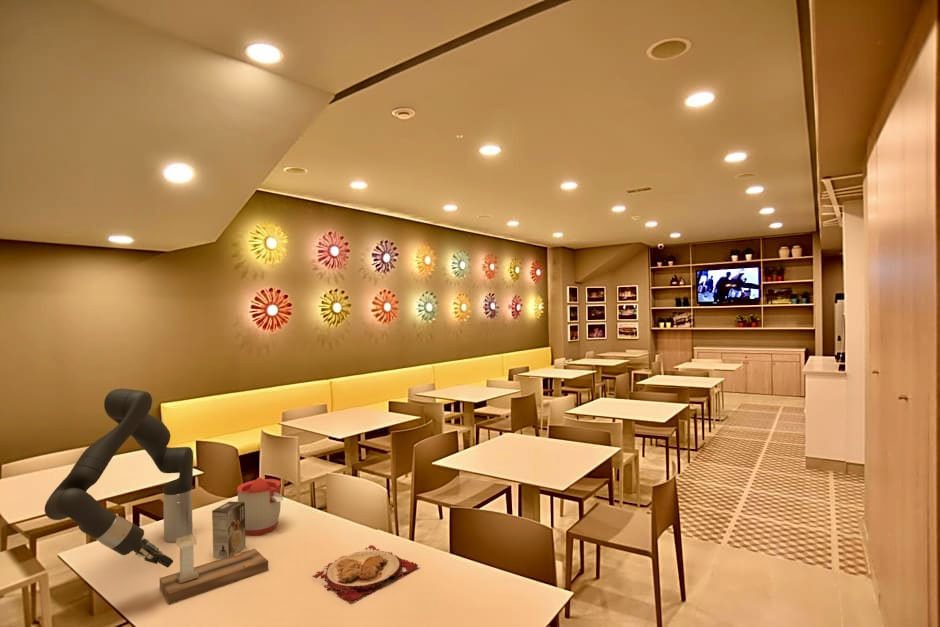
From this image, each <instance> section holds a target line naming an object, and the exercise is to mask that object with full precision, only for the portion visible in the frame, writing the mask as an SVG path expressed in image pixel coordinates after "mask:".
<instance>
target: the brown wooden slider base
mask: <svg viewBox="0 0 940 627" xmlns="http://www.w3.org/2000/svg"><path fill="white" fill-rule="evenodd" d="M194 569H195V570H196V571H197V573H198V578H195V579H192V580H189V581H186V582H182V583H179V582H178V580H177V578H176V573H179V572H180V571H178V572H174V573H171V574H169V575H166V576H163V577H160V578H159V589H160V591H161V593H162V594H163V597H164V598H165V601H166V602H167V603H168V605H172V604H175V603H177V602H178V603H179V602H180V601H183V600H186V599H189V598H192V597H195V596H198V595H201V594H204V593H207V592H209V591H212V590H215V589H218V588H220V587H223V586H227V585H229V584H232V583H235V582H238V581H241V580H244V579H247V578H250V577H253V576H256V575H258V574H261V573H264V572H268V571H269V560H268V559H267V558H266V557H264V555H262V554H261V552H259V551H258V550H257V548H252V549H248V550H245V551H242V552H237V553H236V554H233V555H232V556H229V557H226V558H218V559H217V560H214V561H213V560H212V561H210V562H207V563H204V564H203V563H202V564H201V565H198V566H194Z"/></svg>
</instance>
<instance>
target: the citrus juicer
mask: <svg viewBox="0 0 940 627" xmlns="http://www.w3.org/2000/svg"><path fill="white" fill-rule="evenodd" d="M281 485H282V482H281V481H280V480H279V479H273V478H262V477H257V478H256V479H253V480H250V481H246V482H244V483H241V484H239V485H238V486H237V488H236V491H237V502H245V535H249V536H258V535H259V536H263V535H264V534H267V533H270V532H272V531H274V530H275V529H276V526H277V525H278V523H279V517H280V513H281V502H282V501H283V500H284V496H283V495H282V494H281Z"/></svg>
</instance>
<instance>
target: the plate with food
mask: <svg viewBox="0 0 940 627" xmlns="http://www.w3.org/2000/svg"><path fill="white" fill-rule="evenodd" d="M376 548H377V547H376V546H375V545H369V546H368V547H365V549H363V550H367V551H359V552H353V553H351V554H348V555H342V556H340V557H339V558H338V559H335V560H334V562H329V563H328V564H327V566H326V565H325V566H324V569H322V570H321V571H317V572H316V574H313V575H312V578H314V579H318V578H319V577H320V578H319V579H324V581H325V582H328V583H327V584H325V585H324V583H323V582H322V583H321V585H323V588H325V590H327V591H332V592H333V591H335V593H336V596H338V597H339V598H342V599H346V600H347V602H351V601H355V600H356V599H358V600H359V599H360V597H362V596H363V595H364V594H365V595H367V596H368V595H369V594H370V595H371V593H372V592H373V591H376V590H377V589H380V587H382V586H386V585H387V584H388V583H383V582H384V581H385V580H387V579H389V578H390V577H393V580H392V581H391V582H394V581H396V580H397V579H400V578H404V575H405V574H407V573H410V572H412V571H413V570H416V568H418V566H419V564H417V563H416V562H413V561H409V560H406V559H405V558H404V559H402V558H401V557H399V556H398V555H394V554H393V552H392V551H391V552H390V551H384V550H380V548H377V549H376ZM368 549H369V550H368ZM370 550H372V551H370ZM401 568H405V571H403V570H402V571H401ZM400 572H401V573H400ZM324 573H325V574H324ZM381 583H382V584H381ZM344 591H345V592H344Z"/></svg>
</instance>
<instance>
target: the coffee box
mask: <svg viewBox="0 0 940 627" xmlns="http://www.w3.org/2000/svg"><path fill="white" fill-rule="evenodd" d="M211 513H212V514H211V518H212V554H213V556H212V557H213V558H216V559H217V558H218V559H223V558H226V557H229V556H232V555H233V554H237V553H240V551H242V550H243V549H245V548H246V546H247V545H246V534H245V502H238V501H231V500H230V501H227V502H225V503H224V504H222V505H220V506H218V507H217V508H215V509H213V510H212V511H211Z"/></svg>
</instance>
